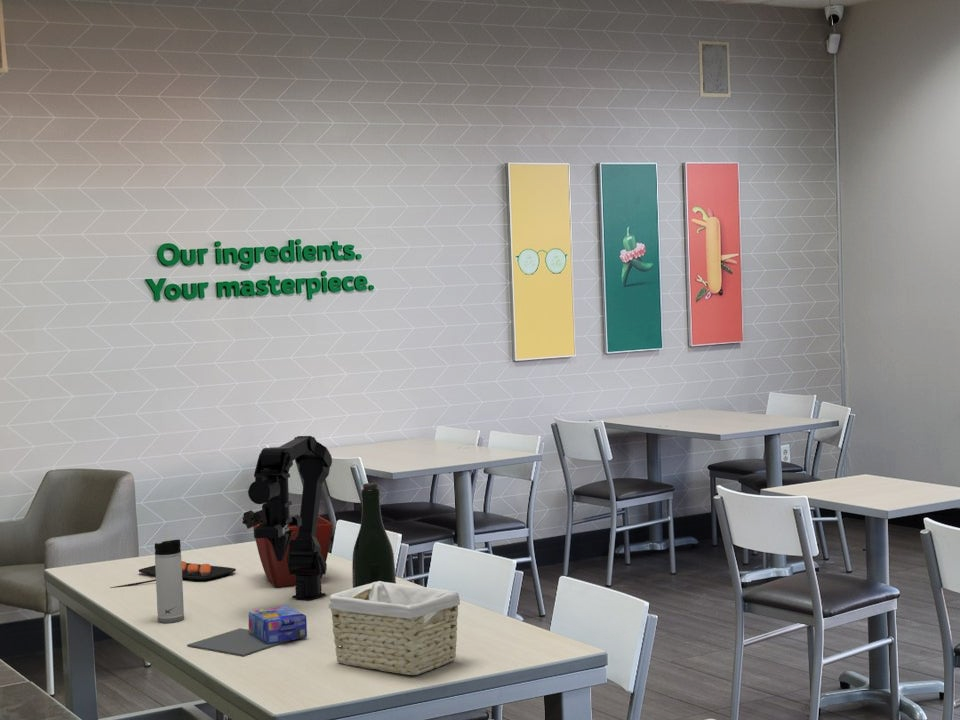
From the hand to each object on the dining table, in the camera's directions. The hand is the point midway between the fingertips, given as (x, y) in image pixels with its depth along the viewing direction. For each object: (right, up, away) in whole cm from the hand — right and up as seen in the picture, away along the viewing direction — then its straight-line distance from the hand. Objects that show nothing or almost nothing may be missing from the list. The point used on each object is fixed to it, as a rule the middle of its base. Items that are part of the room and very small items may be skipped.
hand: (279, 560), depth 294 cm
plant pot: (-2, -12, +38) cm, 40 cm away
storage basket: (+32, -13, -47) cm, 59 cm away
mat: (-4, -14, -27) cm, 31 cm away
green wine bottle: (+25, -13, -12) cm, 30 cm away
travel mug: (-26, -14, -3) cm, 30 cm away
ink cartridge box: (0, -10, -18) cm, 21 cm away
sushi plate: (-41, -14, +48) cm, 64 cm away
